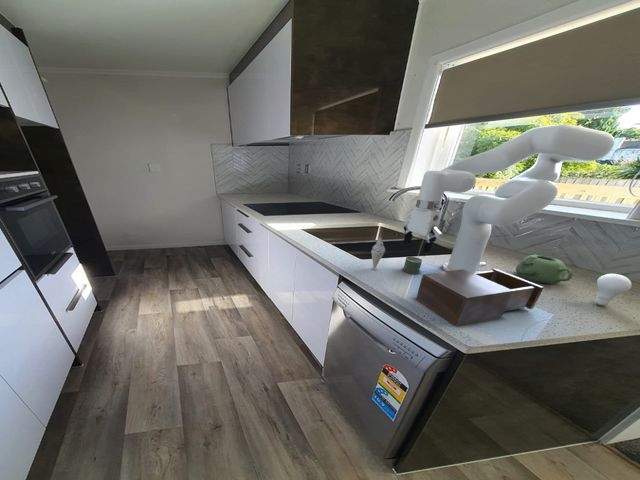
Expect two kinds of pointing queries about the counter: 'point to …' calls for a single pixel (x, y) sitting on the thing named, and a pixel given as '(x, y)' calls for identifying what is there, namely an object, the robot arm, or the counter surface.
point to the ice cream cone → (377, 252)
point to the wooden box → (463, 296)
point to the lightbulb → (611, 287)
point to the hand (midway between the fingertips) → (415, 247)
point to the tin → (412, 265)
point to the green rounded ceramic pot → (543, 269)
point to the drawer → (515, 288)
